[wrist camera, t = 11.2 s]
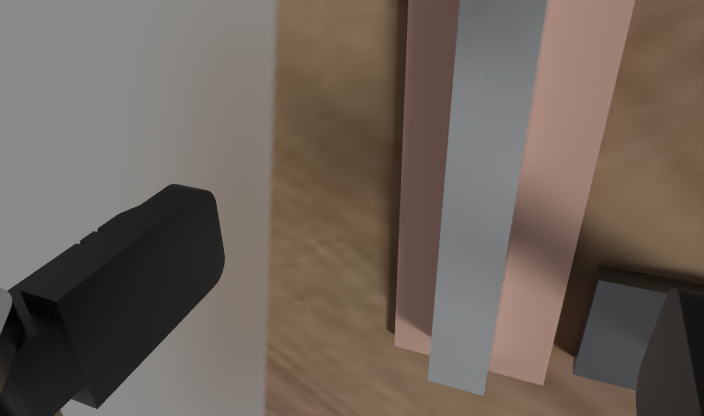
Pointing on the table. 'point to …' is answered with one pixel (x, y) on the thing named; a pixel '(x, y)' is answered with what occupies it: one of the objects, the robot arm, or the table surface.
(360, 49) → the table surface
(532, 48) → the steel rail
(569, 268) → the felt mat
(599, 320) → the hook standards
